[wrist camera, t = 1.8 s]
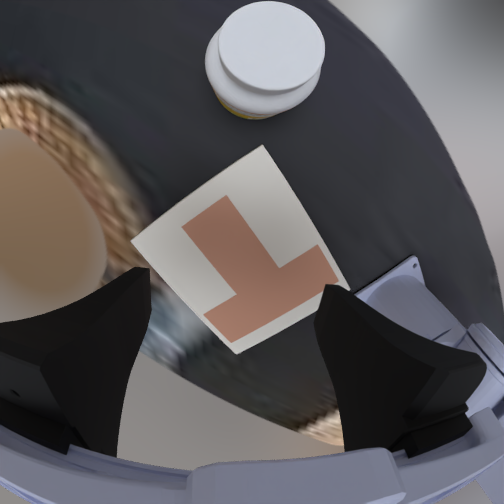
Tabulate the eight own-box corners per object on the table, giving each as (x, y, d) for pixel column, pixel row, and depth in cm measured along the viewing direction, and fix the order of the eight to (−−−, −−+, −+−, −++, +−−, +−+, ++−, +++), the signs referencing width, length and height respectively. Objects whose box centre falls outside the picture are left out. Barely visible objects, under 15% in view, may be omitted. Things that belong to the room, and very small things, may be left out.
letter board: (348, 286, 24) (350, 289, 23) (236, 350, 26) (236, 354, 25) (261, 144, 19) (262, 144, 18) (132, 238, 21) (130, 241, 20)
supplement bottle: (242, 36, 15) (250, -32, 6) (306, 76, 17) (366, 38, 8) (199, 95, 17) (168, 64, 8) (265, 134, 18) (294, 137, 10)
